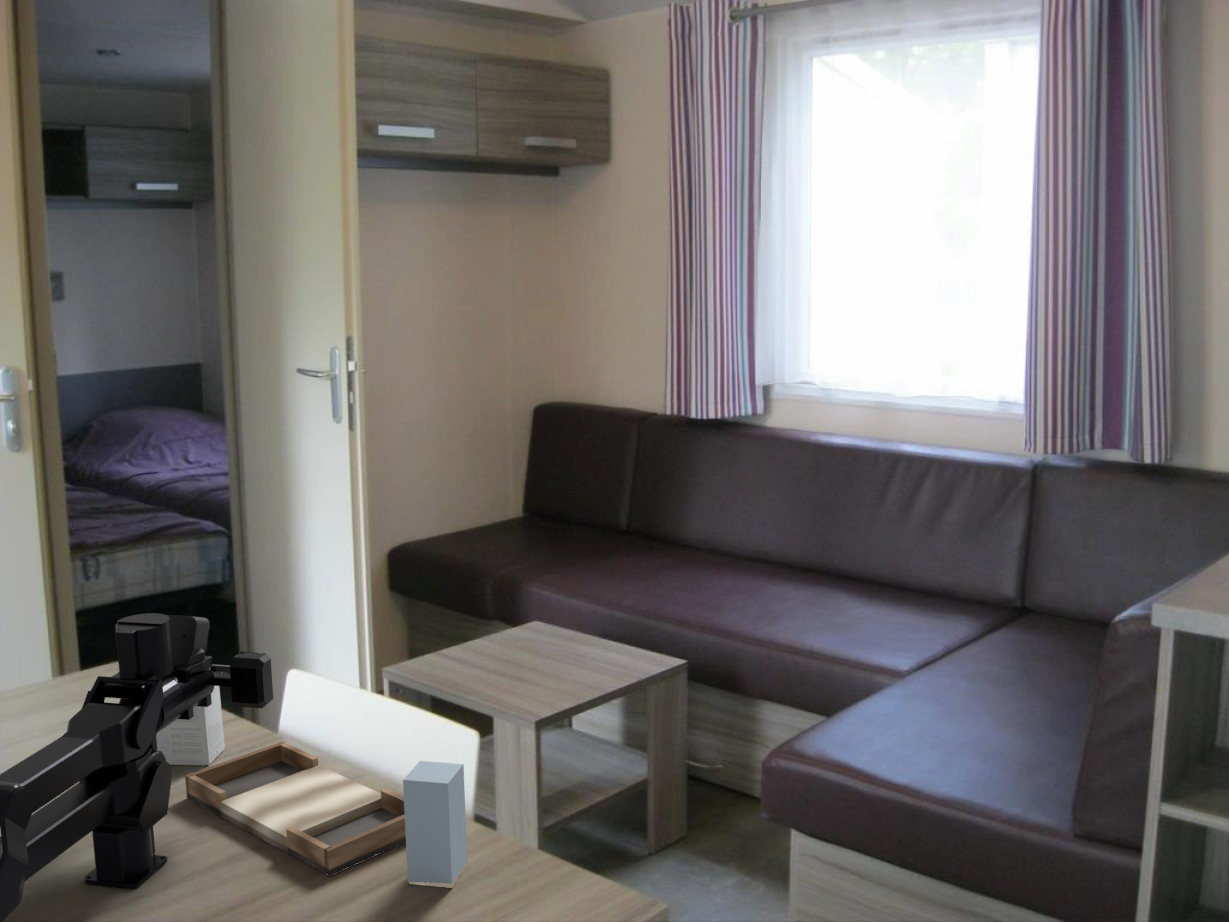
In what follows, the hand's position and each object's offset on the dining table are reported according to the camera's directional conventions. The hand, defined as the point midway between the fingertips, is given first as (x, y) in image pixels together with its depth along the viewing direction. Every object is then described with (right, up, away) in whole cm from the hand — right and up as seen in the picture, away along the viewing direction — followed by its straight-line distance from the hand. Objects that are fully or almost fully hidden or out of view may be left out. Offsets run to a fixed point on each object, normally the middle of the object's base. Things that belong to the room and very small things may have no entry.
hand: (231, 654), depth 165 cm
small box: (-9, -15, +10) cm, 20 cm away
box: (+11, -18, -8) cm, 23 cm away
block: (+29, -21, -23) cm, 42 cm away
